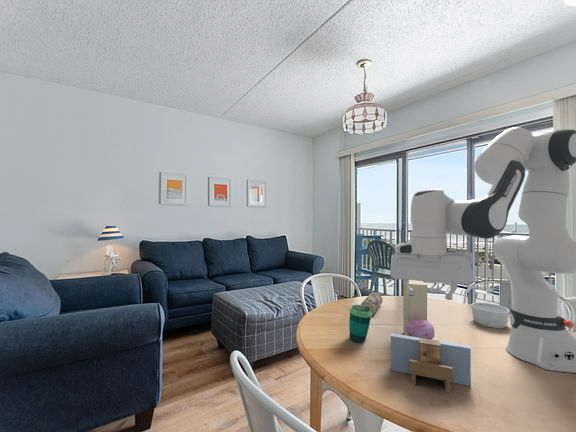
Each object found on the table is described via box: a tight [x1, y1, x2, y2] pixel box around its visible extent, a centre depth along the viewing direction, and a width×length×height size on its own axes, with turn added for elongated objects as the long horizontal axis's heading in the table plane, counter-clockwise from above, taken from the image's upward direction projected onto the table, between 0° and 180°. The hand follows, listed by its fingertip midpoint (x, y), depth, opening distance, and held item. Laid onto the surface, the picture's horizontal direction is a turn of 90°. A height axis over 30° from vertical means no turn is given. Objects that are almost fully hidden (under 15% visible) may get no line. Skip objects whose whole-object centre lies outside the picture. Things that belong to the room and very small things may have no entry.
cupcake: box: [406, 319, 435, 340], centre depth 93 cm, size 9×9×10 cm
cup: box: [348, 304, 373, 344], centre depth 99 cm, size 8×8×12 cm
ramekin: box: [470, 302, 510, 329], centre depth 115 cm, size 13×13×7 cm
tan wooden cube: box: [419, 338, 441, 365], centre depth 73 cm, size 5×4×7 cm
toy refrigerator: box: [402, 280, 428, 336], centre depth 101 cm, size 8×7×21 cm
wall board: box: [390, 333, 472, 393], centre depth 74 cm, size 20×8×10 cm, turn 67°
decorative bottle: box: [360, 292, 384, 316], centre depth 129 cm, size 26×8×7 cm, turn 150°
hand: (429, 297), depth 74 cm, fingers open, 8 cm apart
